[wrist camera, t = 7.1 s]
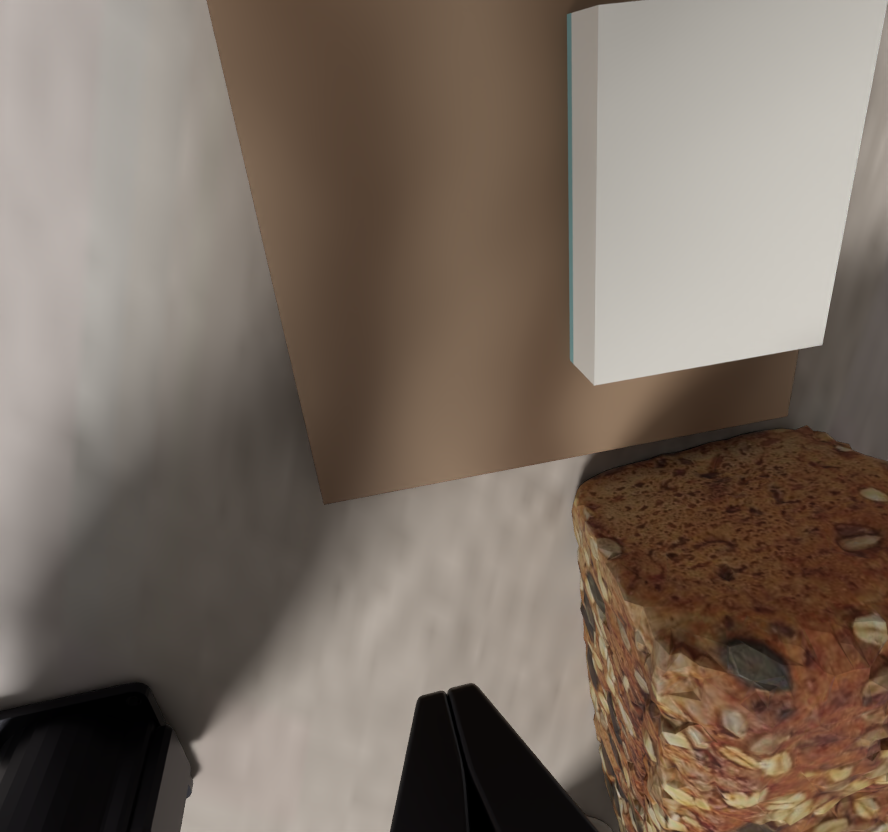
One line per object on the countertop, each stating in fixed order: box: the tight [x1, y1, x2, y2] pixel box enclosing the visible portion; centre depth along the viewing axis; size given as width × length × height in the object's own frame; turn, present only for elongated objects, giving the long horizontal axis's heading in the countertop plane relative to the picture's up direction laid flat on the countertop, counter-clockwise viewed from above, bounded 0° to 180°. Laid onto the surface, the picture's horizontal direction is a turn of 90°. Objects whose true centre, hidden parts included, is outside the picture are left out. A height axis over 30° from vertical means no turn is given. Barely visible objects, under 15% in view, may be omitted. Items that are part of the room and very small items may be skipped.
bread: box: [572, 425, 888, 832], centre depth 23 cm, size 19×11×10 cm, turn 10°
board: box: [207, 0, 799, 505], centre depth 18 cm, size 16×16×1 cm
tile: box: [567, 0, 888, 386], centre depth 17 cm, size 2×9×7 cm
